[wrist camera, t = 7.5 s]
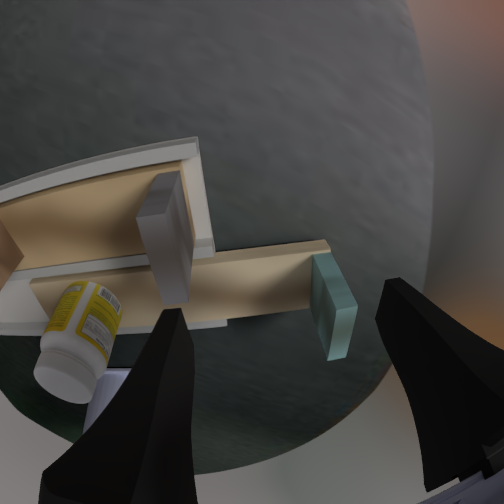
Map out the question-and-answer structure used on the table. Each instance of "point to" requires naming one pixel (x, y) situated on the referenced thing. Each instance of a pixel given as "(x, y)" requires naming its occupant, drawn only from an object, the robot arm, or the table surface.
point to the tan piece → (233, 289)
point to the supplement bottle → (78, 342)
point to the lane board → (25, 302)
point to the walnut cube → (8, 255)
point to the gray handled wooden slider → (111, 223)
